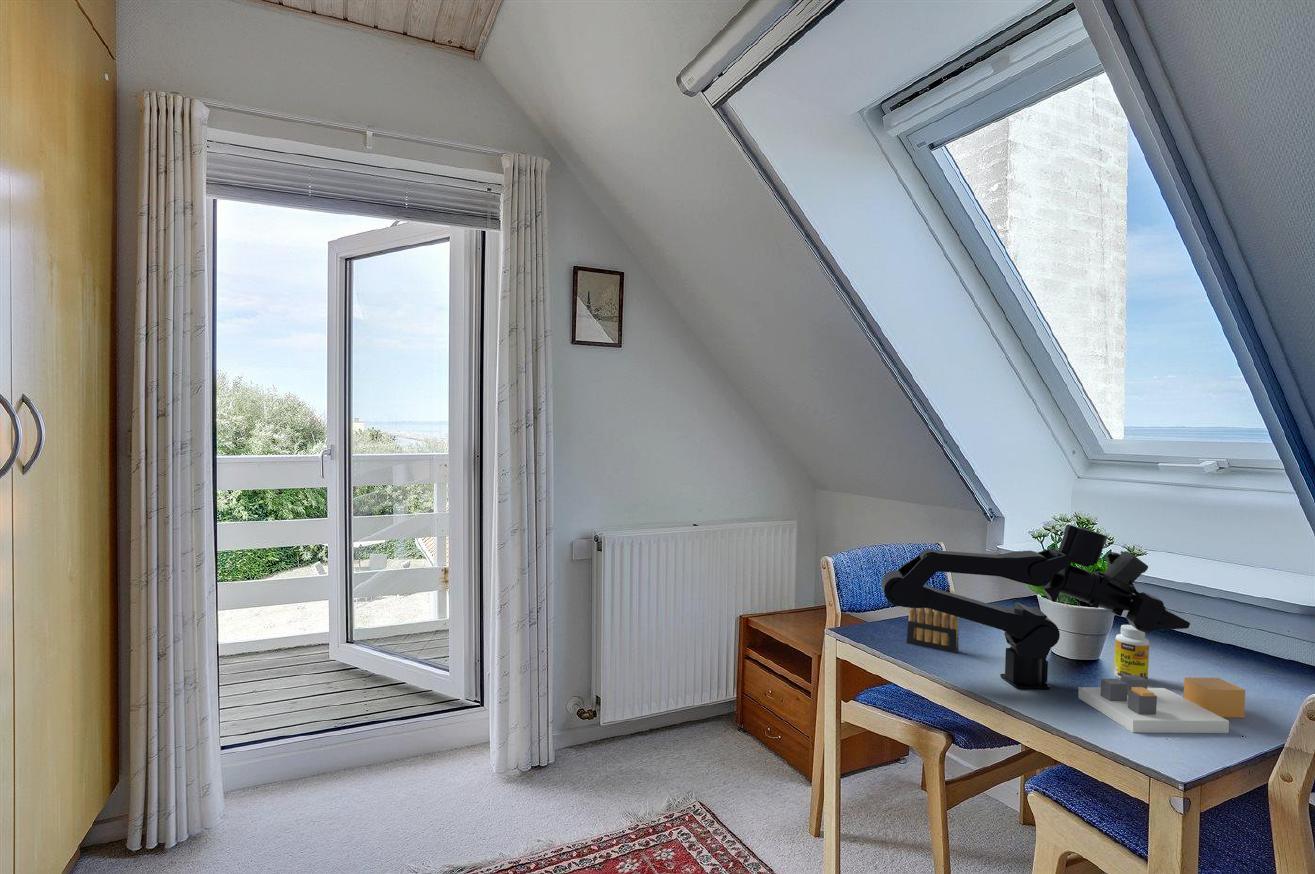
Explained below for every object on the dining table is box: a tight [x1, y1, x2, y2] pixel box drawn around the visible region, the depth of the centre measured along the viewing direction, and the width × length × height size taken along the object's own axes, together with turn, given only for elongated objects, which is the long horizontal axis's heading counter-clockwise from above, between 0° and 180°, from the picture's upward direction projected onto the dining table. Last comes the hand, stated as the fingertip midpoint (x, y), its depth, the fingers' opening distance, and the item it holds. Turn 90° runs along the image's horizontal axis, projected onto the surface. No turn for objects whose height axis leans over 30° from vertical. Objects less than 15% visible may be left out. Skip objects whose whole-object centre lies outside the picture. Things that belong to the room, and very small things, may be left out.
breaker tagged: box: [1128, 687, 1157, 714], centre depth 118 cm, size 3×3×4 cm
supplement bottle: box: [1113, 624, 1150, 681], centre depth 139 cm, size 6×6×10 cm
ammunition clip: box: [905, 608, 959, 654], centre depth 155 cm, size 11×2×12 cm, turn 53°
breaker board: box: [1077, 675, 1230, 734], centre depth 121 cm, size 16×14×5 cm
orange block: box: [1183, 676, 1246, 719], centre depth 124 cm, size 6×6×5 cm
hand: (1176, 617), depth 129 cm, fingers open, 9 cm apart
